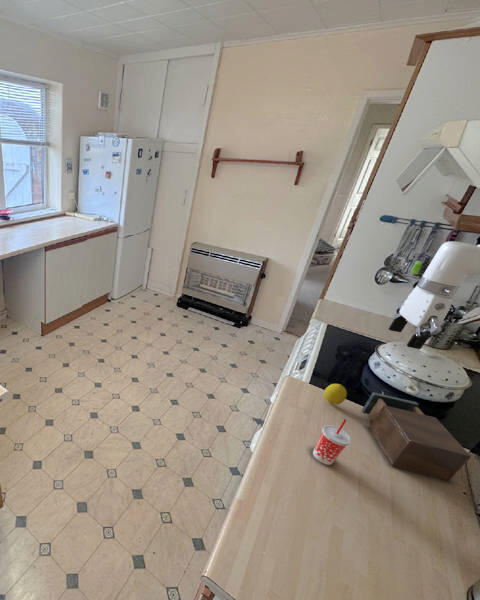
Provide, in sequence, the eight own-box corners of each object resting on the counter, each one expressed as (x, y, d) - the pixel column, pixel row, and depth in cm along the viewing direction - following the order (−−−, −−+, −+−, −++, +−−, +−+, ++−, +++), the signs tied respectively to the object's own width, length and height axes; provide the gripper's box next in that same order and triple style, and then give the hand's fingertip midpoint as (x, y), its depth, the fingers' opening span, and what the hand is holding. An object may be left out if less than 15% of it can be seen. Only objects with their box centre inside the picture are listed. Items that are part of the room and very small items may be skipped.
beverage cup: (339, 470, 84) (364, 432, 78) (313, 462, 86) (335, 425, 80) (331, 451, 89) (354, 415, 83) (306, 444, 91) (327, 408, 85)
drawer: (355, 401, 108) (366, 383, 104) (396, 411, 105) (408, 393, 102) (380, 440, 93) (394, 420, 90) (428, 452, 91) (443, 433, 87)
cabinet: (368, 428, 99) (383, 404, 94) (417, 441, 95) (435, 417, 91) (391, 465, 87) (410, 440, 83) (448, 481, 84) (471, 456, 79)
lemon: (341, 403, 108) (351, 385, 104) (338, 412, 104) (349, 393, 100) (321, 394, 111) (331, 376, 107) (319, 402, 107) (329, 384, 104)
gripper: (477, 302, 80) (437, 358, 88) (432, 278, 95) (401, 327, 103) (441, 296, 82) (405, 351, 89) (402, 274, 97) (374, 322, 104)
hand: (403, 338), depth 96 cm, fingers open, 9 cm apart
